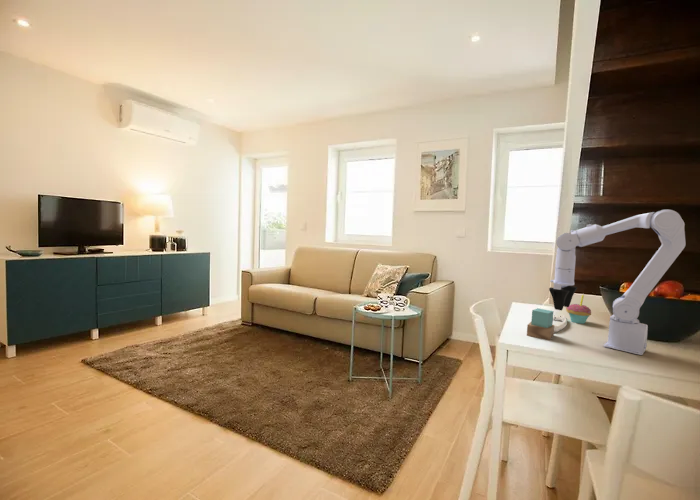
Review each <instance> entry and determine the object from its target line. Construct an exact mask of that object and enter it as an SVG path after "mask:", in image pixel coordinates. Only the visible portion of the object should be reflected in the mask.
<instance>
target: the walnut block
mask: <svg viewBox="0 0 700 500" xmlns="http://www.w3.org/2000/svg"><path fill="white" fill-rule="evenodd" d="M554 325H555V324H552V326H550V327H548V328H544V327H540V326H536V325H531V321H530V322H529V323H528V324H527V325H526V327H527V328H526V336H528V337H533V338H537V339H541V340H542V339H543V340H547V341H551V340H552V338H553V337H554V336H555V332H554Z"/></svg>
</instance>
